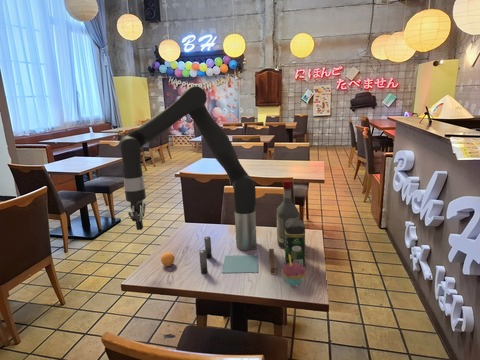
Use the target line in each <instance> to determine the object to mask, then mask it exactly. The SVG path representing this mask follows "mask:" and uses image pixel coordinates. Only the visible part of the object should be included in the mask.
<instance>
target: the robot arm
mask: <svg viewBox="0 0 480 360" xmlns="http://www.w3.org/2000/svg"><path fill="white" fill-rule="evenodd" d="M206 103H207V93H206V91H205V90H204V89H203V88H202V87H201V86H197V85H194V86H193V85H192V86H189V87H187V88H186V89H185V90H184V91H183V92H182V94H181V95H180V97H179V98H178V99H176V101H174V102H173V103H171V105H170V106H168V107H167V108H165V109H164V110H162V111H160V112H158V113H157V114H155V115H154V116H153V117H151V118H150V119H148V120H147V121H145V122H144V123H143V124H141V125H140V126H139V127H138V128H136V129H135V130H133V131H131V132H129V133H128V134H126V135H125V136H123V137H122V138H121V139H120V140H119V143H118V148H119V150H120V153H121V158H122V159H121V160H122V176H123V186H124V187H123V188H124V193H125V200H126V202H129V203H130V205H129V206H130V211H128V216H129V217H130V219H131V220H132V222H133V223H134V222H135V228H136V230H137V231H142V230H143V229H144V224H143V223H144V222H143V220H144V217H145V214H146V213H145V211H146V205H147V204H146V202H143V201H144V200H145V199H146V198H147V197H146V196H147V195H146V188H145V187H146V186H145V180H144V176H143V168H142V162H141V161H142V156H141V155H142V151H141V147H143V146H145V145H146V144H147V143H151V142H152V141H155V139H157V138H158V137H160V136H161V135H163V134H164V133H165V132H166V131H167V130H169V129H170V128H171V127H172V126H173V125H175V124H176V123H177V122H178V121H180V120H181V119H182V118H183V119H184V117H186V116H187V115H189V117H190V118H191V119H192V120H193V122H194V124H195V125H196V126H197V129H198V131H199V133H200V135H201V137H202V138H203V140H204V142H205V143H206V145H207V147H208V149H209V151H210V152H211V155H213V157H214V158H215V160H216V161H217V163H219V164H220V166H221V167H222V168H223V170H224V171H225V173H226V174H227V176H228V179H229V181H230V183H231V185H232V188H233V195H234V197H233V198H234V205H233V206H234V207H233V208H234V224H235V225H234V226H235V229H234V230H235V245H236V249H237V250H240V251H252V250H256V249H257V222H256V203H257V198H256V197H257V195H256V194H257V191H256V183H255V181H254V180H253V179H252V177H251V176H250V175H249V174H248V172H247V171H246V170H245V168H244V167H243V166H242V164H241V163H240V160H239V158H238V155H237V153H236V150H235V147H234V146H233V144H232V142H231V140H230V138H229V137H228V135H227V133H226V132H225V130H224V129H223V128H222V127H221V126H220V125H219V124H218V123H217V122H216V121H215V120H214V118H213V117H212V116H211V114H210V113H209V111H208V109H207V107H206Z"/></svg>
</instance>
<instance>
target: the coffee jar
mask: <svg viewBox="0 0 480 360" xmlns="http://www.w3.org/2000/svg"><path fill="white" fill-rule="evenodd" d="M289 255H290V256H291V262H296V263H299V264H301V265H303V266H304V268H305V267H306V226H305V223H304V221H303V220H302V219H300V217H299V218H289V219H288V220H287V221H286V222H285V249H284V256H285V257H284V259H285V264H288V263H290V262H289Z"/></svg>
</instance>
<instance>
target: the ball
mask: <svg viewBox="0 0 480 360" xmlns="http://www.w3.org/2000/svg"><path fill="white" fill-rule="evenodd" d="M175 259H176V258H175V256H174V254H173V253H172V252H169V251H167V252H165V253H163V254H162V255H161V258H160V262H161V264H162V265H163V266H165V267H170V266H172V265H173V264H174V262H175Z"/></svg>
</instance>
